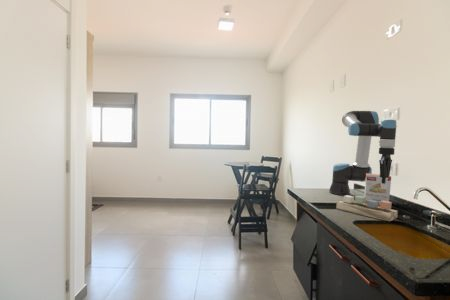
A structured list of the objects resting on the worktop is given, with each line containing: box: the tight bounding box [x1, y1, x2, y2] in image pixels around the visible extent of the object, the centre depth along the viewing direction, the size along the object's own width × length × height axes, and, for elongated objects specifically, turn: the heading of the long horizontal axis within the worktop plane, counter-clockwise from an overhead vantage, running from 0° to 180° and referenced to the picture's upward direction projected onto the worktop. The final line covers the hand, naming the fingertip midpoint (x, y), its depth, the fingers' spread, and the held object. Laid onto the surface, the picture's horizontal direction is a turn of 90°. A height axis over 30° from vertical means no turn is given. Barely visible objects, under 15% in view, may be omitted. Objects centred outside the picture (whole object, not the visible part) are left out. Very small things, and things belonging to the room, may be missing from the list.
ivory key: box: [343, 195, 355, 204], centre depth 172 cm, size 4×4×6 cm
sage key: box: [354, 195, 366, 206], centre depth 167 cm, size 4×4×6 cm
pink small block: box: [380, 200, 393, 212], centre depth 156 cm, size 4×4×6 cm
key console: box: [335, 200, 399, 222], centre depth 165 cm, size 12×30×4 cm, turn 42°
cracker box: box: [363, 173, 392, 207], centre depth 180 cm, size 14×6×21 cm, turn 68°
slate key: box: [367, 200, 378, 209], centre depth 162 cm, size 4×4×6 cm
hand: (383, 188), depth 157 cm, fingers closed
